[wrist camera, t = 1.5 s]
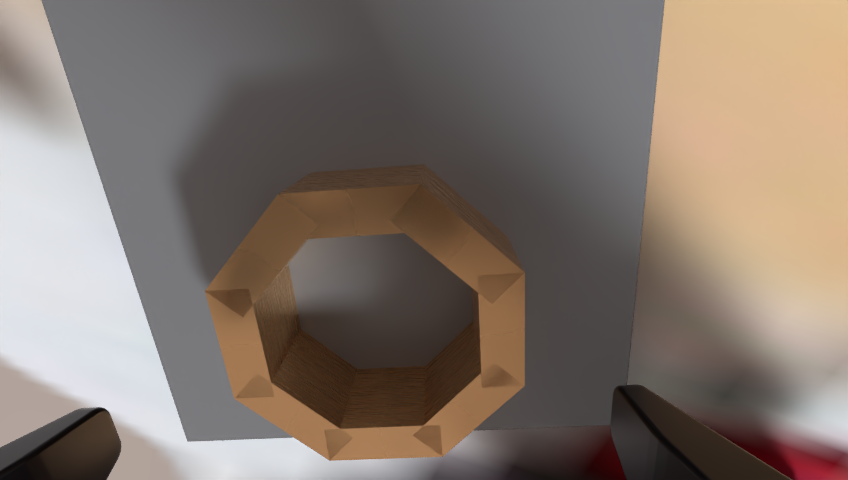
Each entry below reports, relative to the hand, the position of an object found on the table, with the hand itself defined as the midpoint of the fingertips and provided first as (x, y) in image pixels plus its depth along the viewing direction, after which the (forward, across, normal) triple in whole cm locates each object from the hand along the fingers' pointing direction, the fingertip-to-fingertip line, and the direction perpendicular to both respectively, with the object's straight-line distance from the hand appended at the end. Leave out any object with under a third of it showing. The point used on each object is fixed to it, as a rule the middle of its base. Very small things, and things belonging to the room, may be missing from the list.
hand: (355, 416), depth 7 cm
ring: (+5, 0, 0) cm, 5 cm away
